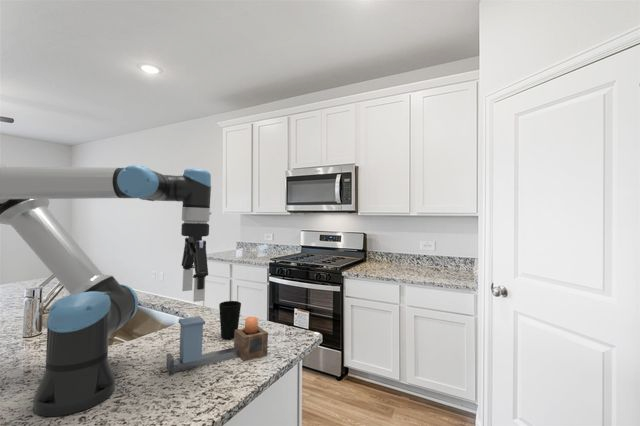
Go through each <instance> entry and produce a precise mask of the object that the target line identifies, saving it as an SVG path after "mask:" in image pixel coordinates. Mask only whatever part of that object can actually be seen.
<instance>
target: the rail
mask: <svg viewBox="0 0 640 426" xmlns="http://www.w3.org/2000/svg"><path fill="white" fill-rule="evenodd" d="M236 358H240V357H239V350H238V349H237V348H236V347H234V346H233V347H231V348H225V349H221V350H217V351H212V352H208V353H202V359H200V360H196V361H191V362H187V363H183V362H182V360H181V359H180V358H179V359H174V357H173V355H172V353H171V352H168V353H166V361H165V363H166V368H165V369H166V370H167V373H168V375H169V376H174V373H177V372H181V371H182V372H183V371H186V370H191V369H194V368H197V367H198V368H199V367H202V366H207V365H211V364H214V363H218V362H223V361H228V360H231V359H236Z"/></svg>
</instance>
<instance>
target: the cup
mask: <svg viewBox="0 0 640 426" xmlns="http://www.w3.org/2000/svg"><path fill="white" fill-rule="evenodd" d="M218 306H219V307H218V308H219V323H220V338H221V339H222V340H227V341H228V340H229V341H230V340H234V332H235V330H237V329H239V323H240V315H241V307H242V302H241V301H237V300H226V301H222V302H220V303H219V304H218Z"/></svg>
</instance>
